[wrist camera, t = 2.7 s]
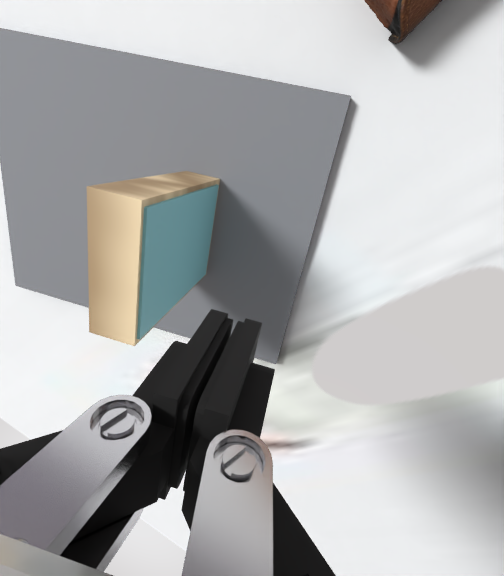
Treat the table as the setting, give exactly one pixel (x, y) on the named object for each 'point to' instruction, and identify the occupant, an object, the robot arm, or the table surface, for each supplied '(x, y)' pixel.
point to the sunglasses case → (401, 15)
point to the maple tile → (146, 249)
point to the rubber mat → (163, 169)
